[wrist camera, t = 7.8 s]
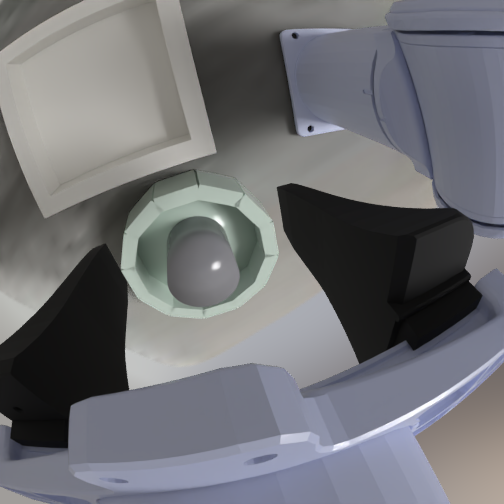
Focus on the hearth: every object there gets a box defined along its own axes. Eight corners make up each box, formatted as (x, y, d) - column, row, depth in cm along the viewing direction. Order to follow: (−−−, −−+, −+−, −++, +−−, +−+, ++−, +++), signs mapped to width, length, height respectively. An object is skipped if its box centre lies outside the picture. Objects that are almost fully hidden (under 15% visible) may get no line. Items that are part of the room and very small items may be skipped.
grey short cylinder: (212, 205, 20) (221, 236, 16) (236, 252, 23) (249, 289, 19) (155, 233, 20) (153, 270, 16) (184, 276, 23) (189, 316, 19)
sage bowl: (250, 153, 19) (263, 165, 17) (273, 270, 26) (285, 292, 23) (104, 201, 18) (94, 221, 16) (158, 307, 25) (159, 331, 22)
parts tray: (171, -15, 11) (171, -30, 9) (211, 142, 18) (216, 152, 16) (10, 59, 10) (-11, 59, 7) (57, 201, 17) (44, 218, 15)
